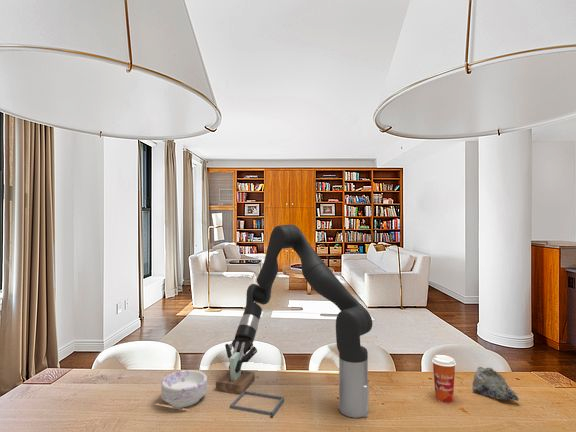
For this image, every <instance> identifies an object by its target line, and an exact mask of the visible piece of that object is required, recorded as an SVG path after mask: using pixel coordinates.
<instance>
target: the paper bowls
mask: <svg viewBox="0 0 576 432" xmlns="http://www.w3.org/2000/svg"><path fill="white" fill-rule="evenodd" d="M160 385H161V387H160V388H161V390H160V392H161V393H160V395H161V399H162V401H164V402H166V403H168V405H170V407H172V408H175V409H183V408H185V407H190V406H194V405H196V404H197V403H198V402H200V400H201V399H202V398H203V397H204V396H205V395H206V394H207V392H208V376H207V374H205V372H202V371H201V370H192V369H187V370H179V371H175V372H172V373H170V374H168V375H166V376H164V377H163V378H162V380H161V383H160Z"/></svg>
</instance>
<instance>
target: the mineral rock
mask: <svg viewBox="0 0 576 432" xmlns="http://www.w3.org/2000/svg"><path fill="white" fill-rule="evenodd" d="M472 392H475V393H477V394H481V395H482V396H487V397H490V398H495V399H497V398H498V399H497V400H506V401H510V400H512V401H517V402H518V401H519V400H520V398H519V396H518V395H517V394H516V393H515V392H514V390H512V388H511V387H510V385H508V384H507V381H506V380H505V377H503V375H501V374H500V373H499V372H497V371H496V370H494V369H493V367H483V366H478V367H477V369H476V371H475V373H474V375H473V380H472Z"/></svg>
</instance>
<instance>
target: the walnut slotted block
mask: <svg viewBox="0 0 576 432" xmlns="http://www.w3.org/2000/svg"><path fill="white" fill-rule="evenodd" d="M255 373H256V372H255V371H247V370H242V369H241V376H240V377H239V378H237V379H236V380H235V381H234V382H232V381H231V377H230V370H228V371H227V372H226V373H224V374H223V375H222V376H221V377H220V378H218V379H217V380H215V391H217V392H223V393H229V394H233V395H238V396H240V395H241V393H242V392H243V391H247V390H248V388H250V386H251V385H252V384H253V383H255V377H256V376H255Z"/></svg>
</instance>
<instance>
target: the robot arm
mask: <svg viewBox="0 0 576 432" xmlns="http://www.w3.org/2000/svg"><path fill="white" fill-rule="evenodd" d="M303 233H304V232H302V231H301V229H300V228H299V227H298V226H297V225H296V224H280V225H277V226H274V228H273V229H272V231H271V232H270V236H269V240H268V243H267V248H266V253H265V257H264V261H263V264H262V266H261V269H260V270H259V273H258V275H257V277H256V283H251V284H250V285H249V286H248V287H247V290H246V295H245V296H246V303H245V308H244V311H243V314H242V317H241V319H240V321H239V323H238V326H237V328H236V332H235V335H234V339H233V340H232V342H231V343H229V344H228V343H226V344H224V346H225V351H226V355H227V358H228V359H229V358H230V357H231V356H232V355H233V354H234V353H235V352H239V353H240V356H239V359H238V360H239V361H238V362H237V365H236V368H235V372H236V373H238V371H240V369H241V370H242V366H243V363H248V362H249V361H250V360H251V359H252V358H253V357H254V356H255V355H256V353H258V349H257V348H256V346H254V341H255V337H256V335H257V332H258V328H259V324H260V323H259V322H260V319H261V315H262V312H263V308H262V307H261V306H260V305H263V306H264V305H267V304H268V303H269V302H270V299H271V297H272V296H271V295H272V287H273V284H274V282H275V279H276V278H277V276H278V273H279V262H278V258H279V254H280V253H281V252H282V250H283V249H292V250H293V251H294V252H295V253H296V254H297V256H298V258H300V264H301V265H300V267H301V272H302V276H303V278H304V279H305V281H306V282H307V283H308V284H309V286H310V287H311V289H312V290H313V291H314V292H316V293H317V294H318V295H320V296H321V297H323V298H325V299H326V300H327V301H330V302H331V303H332V304H334V305H335V306H336V307H337V308H338V309H339V310H340V311H339V312H338V313H337V315H336V320H335V339H336V340H335V342H336V347H337V351H338V376H339V377H338V382H339V383H338V390H339V391H338V395H339V398H338V408H339V412H340V413H341V414H342V415H344V416H346V417H349V418H355V419H356V418H367V417H368V413H369V410H370V409H369V408H370V407H369V406H370V405H369V401H370V400H369V398H370V397H369V396H370V395H369V394H370V392H369V391H370V389H369V387H370V385H369V382H370V380H369V379H368V378H369V376H368V375H369V373H368V372H369V368H368V366H369V365H368V361H369V360H368V359H369V357H368V355H369V353H368V352H369V351H368V350H367V348H366V347H364V346H363V345H362V346H361V336H363V335H366V334H368V333H369V332H371V330H372V328H373V319H372V316H371V314H370V313H369V311H368V310H367V309H366V307H364V305H363V304H362V303H361V302H360V301H359V300H357V298H355V297H354V296H353V295H352V294H351V293H350V291H349V290H348V289H347V288H346V287H345V285H343V284H342V282H341V281H340V280H339V279H338V278H337V276H336V275H335V274H334V272H333V271H332V269H330V267H328V265H327V264H326V263H325V261H323V260H322V258H321V257H320V255H319V254H318V253H317V252H316V250H315V249H314V248H313V247H312V245H311V244H310V242H309V241H308V239H307V237H306V236H305V235H304V234H303ZM259 304H260V305H259ZM232 349H233V351H232ZM228 369H229V370H230V364H229V366H228ZM229 370H228V371H229Z"/></svg>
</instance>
